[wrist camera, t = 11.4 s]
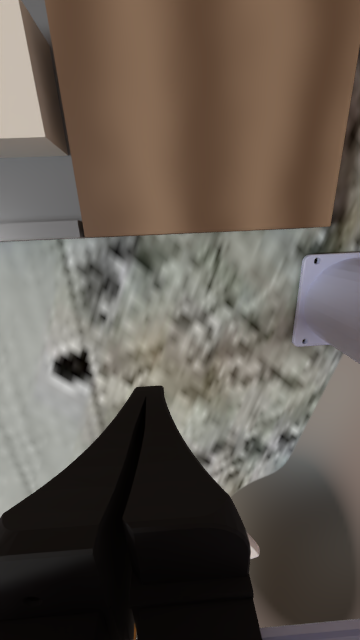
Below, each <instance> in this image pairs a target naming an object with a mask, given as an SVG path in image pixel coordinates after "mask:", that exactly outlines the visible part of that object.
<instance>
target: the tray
mask: <svg viewBox="0 0 360 640" xmlns="http://www.w3.org/2000/svg"><path fill="white" fill-rule="evenodd" d="M21 1H22V2H23V4H24V5H25V7H26V9H27V10H28V12H29V13H30V15H31V17H32V18H33V20H34V21H35V23H36V25H37V26H38V28H39V30H40V31H41V33H42V34H43V36H44V38H45V39H46V41H47V42H48V44H49V48H50V54H51V59H52V65H53V71H54V77H55V82H56V88H57V94H58V100H59V106H60V111H61V117H62V123H63V129H64V135H65V140H66V146H67V152H68V156H44V157H14V158H0V242H6V241H29V240H51V239H73V238H94V237H85V235H84V229H83V223H82V217H81V211H80V205H79V200H78V194H77V188H76V182H75V176H74V170H73V164H72V158H71V153H70V147H69V141H68V135H67V129H66V123H65V117H64V112H63V106H62V100H61V94H60V88H59V82H58V76H57V70H56V65H55V59H54V53H53V47H52V41H51V35H50V29H49V23H48V18H47V12H46V6H45V0H21Z"/></svg>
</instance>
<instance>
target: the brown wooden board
mask: <svg viewBox="0 0 360 640" xmlns="http://www.w3.org/2000/svg"><path fill="white" fill-rule="evenodd" d="M45 6H46V12H47V18H48V23H49V29H50V35H51V41H52V47H53V53H54V59H55V65H56V70H57V76H58V82H59V88H60V94H61V100H62V106H63V112H64V117H65V123H66V129H67V135H68V141H69V147H70V153H71V158H72V164H73V170H74V176H75V182H76V188H77V194H78V200H79V205H80V211H81V217H82V223H83V229H84V235H85V237H118V236H140V235H162V234H184V233H207V232H229V231H251V230H273V229H296V228H313V227H326V226H330V225H331V219H332V213H333V206H334V200H335V194H336V188H337V182H338V176H339V170H340V163H341V157H342V151H343V145H344V139H345V133H346V127H347V121H348V114H349V108H350V102H351V96H352V90H353V84H354V78H355V71H356V65H357V59H358V53H359V47H360V0H45Z"/></svg>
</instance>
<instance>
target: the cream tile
mask: <svg viewBox="0 0 360 640" xmlns="http://www.w3.org/2000/svg"><path fill="white" fill-rule="evenodd" d="M44 156H68V152H67V146H66V140H65V135H64V129H63V123H62V117H61V111H60V106H59V100H58V94H57V88H56V82H55V77H54V71H53V65H52V59H51V54H50V48H49V44H48V42H47V41H46V39H45V38H44V36H43V34H42V33H41V31H40V30H39V28H38V26H37V25H36V23H35V21H34V20H33V18H32V17H31V15H30V13H29V12H28V10H27V9H26V7H25V5H24V4H23V2H22V1H21V0H0V158H14V157H44Z"/></svg>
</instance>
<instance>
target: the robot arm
mask: <svg viewBox="0 0 360 640" xmlns="http://www.w3.org/2000/svg"><path fill="white" fill-rule="evenodd" d="M316 258H317V260H318V261H317V262H316V263H314V260H315V259H316ZM303 339H305V341H304V342H302V340H303ZM292 343H293V344H294V345H295V346H315V345H332V346H333V347H335V348H337V349H338V350H340V351H341V352H343V353H344V354H346V355H347V356H349V357H350V358H352V359H353V360H355V361H356V362H358V363H359V364H360V252H352V253H331V254H310V255H307V256H305V257H304V258H303V261H302V268H301V276H300V284H299V291H298V299H297V306H296V314H295V322H294V329H293V337H292ZM250 555H251V548H250V542H249V538H248V535H247V533H246V530H245V527H244V525H243V523H242V520H241V518H240V516H239V514H238V512H237V509H236V507H235V505H234V503H233V501H232V500H231V498H230V496H229V495H228V494H227V493H226V492H225V491H224V490H223V489H222V488H221V487H220V486H219V485H218V484H217V483H216V481H215V480H214V479H213V478H212V477H211V476H210V475H209V474H208V472H207V471H206V470H205V469H204V468H203V466H202V465H201V464H200V462H199V461H198V460H197V458H196V457H195V456H194V455H193V453H192V452H191V450H190V449H189V447H188V446H187V444H186V443H185V441H184V440H183V438H182V436H181V435H180V433H179V431H178V429H177V427H176V425H175V423H174V421H173V419H172V417H171V415H170V412H169V409H168V407H167V404H166V401H165V397H164V388H163V387H162V386H147V387H136V388H135V389H134V391H133V393H132V394H131V396H130V397H129V399H128V400H127V402H126V403H125V405H124V406H123V407H122V409H121V410H120V411H119V413H118V414H117V416H116V417H115V418H114V419H113V421H112V422H111V423H110V424H109V425H108V427H107V428H106V429H105V430H104V431H103V433H102V434H101V435H100V436H99V437H98V438H97V439H96V440H95V441H94V442H93V443H92V444H91V445H90V446H89V447H88V448H87V449H86V450H85V451H84V452H83V453H82V454H81V455H80V456H79V457H78V458H77V459H76V460H75V461H73V462H72V463H71V464H70V465H69V466H68V467H67V468H65V469H64V470H63V471H62V472H61V473H59V474H58V475H57V476H56V477H54V478H53V479H52V480H50V481H49V482H48V483H46V484H45V485H44V486H42V487H41V488H40V489H38V490H37V491H36V492H34V493H33V494H31V495H30V496H28V497H27V498H25V499H24V500H22V501H21V502H20V503H18V504H17V505H15V506H14V507H12V508H11V509H9V510H8V511H6V512H5V513H3V515H2V516H1V518H0V640H134V624H135V627H136V631H137V636H138V638H137V639H135V640H360V619H352V620H342V621H331V622H320V623H309V624H298V625H287V626H278V627H265V628H259V624H258V619H257V615H256V611H255V606H254V602H253V589H252V585H251V580H250V577H249V565H250Z"/></svg>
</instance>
